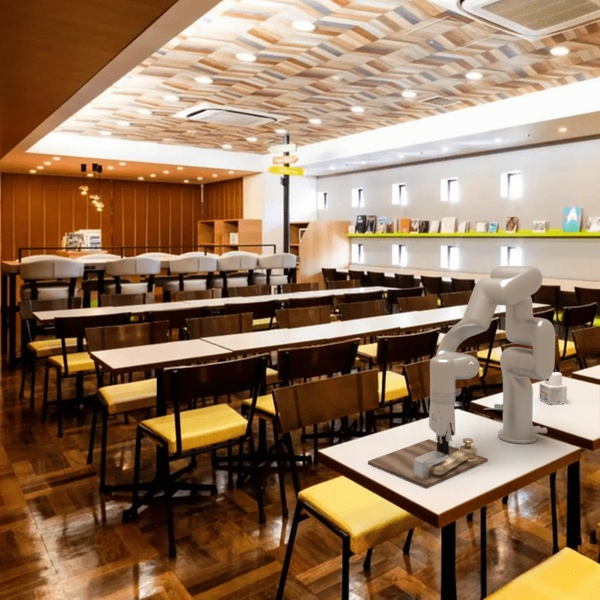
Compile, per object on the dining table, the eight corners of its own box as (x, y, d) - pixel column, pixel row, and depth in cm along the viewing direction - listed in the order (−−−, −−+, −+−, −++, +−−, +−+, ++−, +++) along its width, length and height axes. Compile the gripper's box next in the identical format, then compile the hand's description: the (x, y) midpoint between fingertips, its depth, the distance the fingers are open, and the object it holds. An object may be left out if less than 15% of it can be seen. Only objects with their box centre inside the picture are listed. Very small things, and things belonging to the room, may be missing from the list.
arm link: (464, 451, 176) (464, 443, 176) (479, 454, 173) (479, 447, 173) (427, 472, 161) (427, 464, 160) (442, 477, 157) (442, 469, 157)
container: (539, 400, 236) (539, 370, 234) (556, 399, 237) (556, 369, 235) (549, 405, 228) (549, 374, 227) (566, 404, 229) (567, 373, 228)
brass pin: (475, 453, 176) (475, 436, 175) (481, 461, 170) (481, 443, 169) (455, 454, 176) (455, 436, 176) (460, 461, 170) (460, 443, 169)
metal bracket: (533, 403, 213) (494, 404, 213) (534, 418, 212) (496, 419, 212) (518, 403, 227) (481, 404, 227) (519, 417, 226) (483, 419, 226)
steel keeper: (424, 481, 157) (424, 463, 156) (411, 475, 161) (411, 458, 160) (448, 471, 163) (448, 454, 162) (434, 466, 167) (434, 449, 166)
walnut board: (428, 441, 190) (428, 439, 190) (487, 461, 172) (487, 458, 172) (368, 464, 173) (367, 460, 173) (426, 488, 154) (426, 485, 154)
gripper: (422, 391, 177) (422, 447, 179) (440, 404, 163) (441, 464, 164) (444, 389, 178) (444, 445, 180) (464, 402, 164) (464, 462, 165)
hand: (442, 454), depth 172 cm, fingers closed
